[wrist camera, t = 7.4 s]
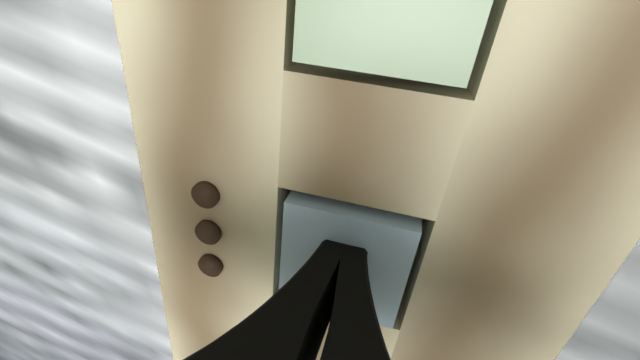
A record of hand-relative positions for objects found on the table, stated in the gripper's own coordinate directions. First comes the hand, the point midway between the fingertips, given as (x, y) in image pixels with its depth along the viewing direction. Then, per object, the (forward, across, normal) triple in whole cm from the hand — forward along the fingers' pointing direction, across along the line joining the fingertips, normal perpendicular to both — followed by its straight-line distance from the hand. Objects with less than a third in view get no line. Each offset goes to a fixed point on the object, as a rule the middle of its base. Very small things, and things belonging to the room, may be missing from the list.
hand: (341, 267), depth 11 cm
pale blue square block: (+1, 0, 0) cm, 1 cm away
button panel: (+2, 0, 0) cm, 2 cm away
